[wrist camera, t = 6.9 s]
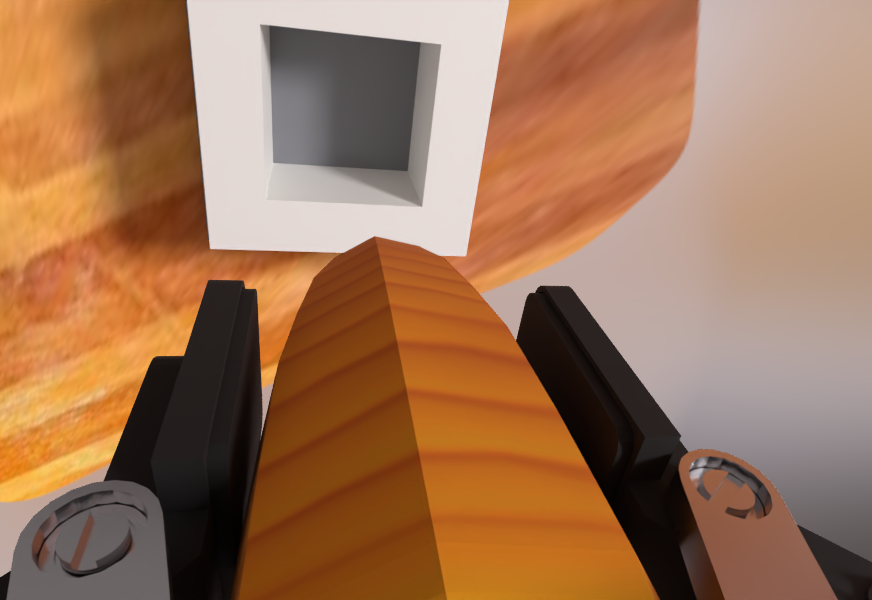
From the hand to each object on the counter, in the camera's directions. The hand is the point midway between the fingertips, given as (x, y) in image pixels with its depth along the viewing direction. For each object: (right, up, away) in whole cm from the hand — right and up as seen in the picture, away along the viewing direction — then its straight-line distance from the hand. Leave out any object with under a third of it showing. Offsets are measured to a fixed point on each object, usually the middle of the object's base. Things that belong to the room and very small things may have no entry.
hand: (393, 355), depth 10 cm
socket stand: (-4, +12, +18) cm, 22 cm away
